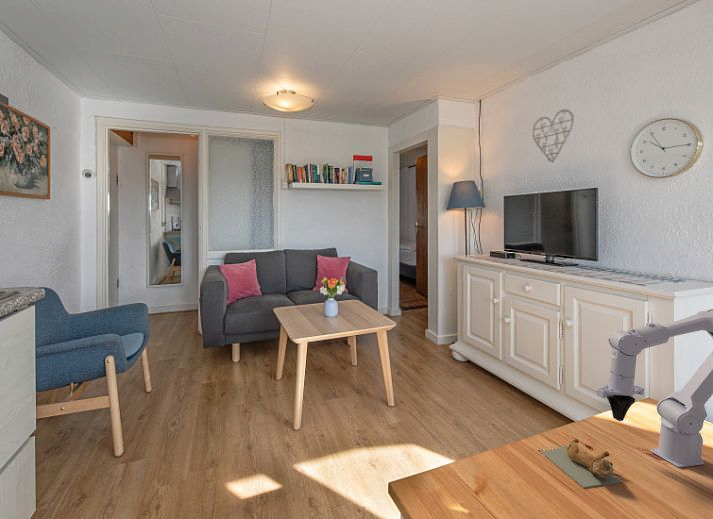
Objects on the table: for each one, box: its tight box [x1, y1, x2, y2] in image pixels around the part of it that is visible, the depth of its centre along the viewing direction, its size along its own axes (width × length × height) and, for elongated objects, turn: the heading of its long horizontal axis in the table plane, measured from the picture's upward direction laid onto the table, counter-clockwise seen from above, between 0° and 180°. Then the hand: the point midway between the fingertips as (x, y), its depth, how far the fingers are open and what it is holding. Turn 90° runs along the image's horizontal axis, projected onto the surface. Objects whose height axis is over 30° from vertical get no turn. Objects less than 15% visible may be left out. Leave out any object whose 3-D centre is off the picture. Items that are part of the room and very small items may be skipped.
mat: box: [539, 445, 624, 489], centre depth 99 cm, size 12×16×1 cm
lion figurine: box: [566, 438, 614, 479], centre depth 98 cm, size 15×5×9 cm
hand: (618, 419), depth 106 cm, fingers closed
